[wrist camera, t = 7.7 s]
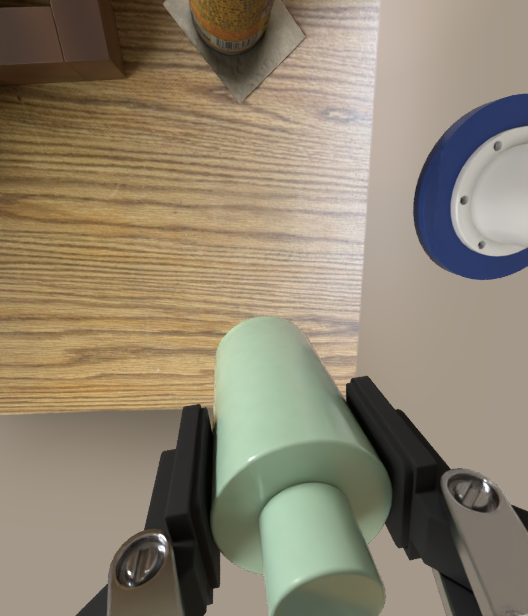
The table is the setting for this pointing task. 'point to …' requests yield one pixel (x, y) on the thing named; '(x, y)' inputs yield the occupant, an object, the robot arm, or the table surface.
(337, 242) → the table surface
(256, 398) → the bottle
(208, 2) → the condiment
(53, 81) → the peg block
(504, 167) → the robot arm
